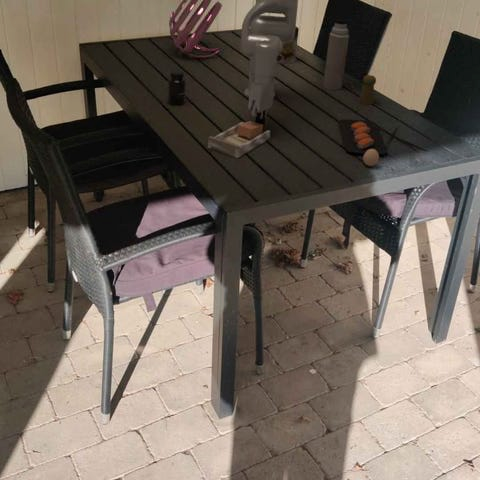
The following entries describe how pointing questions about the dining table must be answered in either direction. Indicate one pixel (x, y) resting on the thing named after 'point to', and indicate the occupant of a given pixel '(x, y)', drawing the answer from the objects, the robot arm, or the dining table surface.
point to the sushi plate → (364, 136)
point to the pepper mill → (367, 90)
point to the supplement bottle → (176, 88)
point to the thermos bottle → (336, 55)
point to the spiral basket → (189, 26)
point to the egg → (371, 157)
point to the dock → (235, 142)
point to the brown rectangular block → (249, 129)
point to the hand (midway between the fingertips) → (259, 127)
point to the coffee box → (288, 50)
